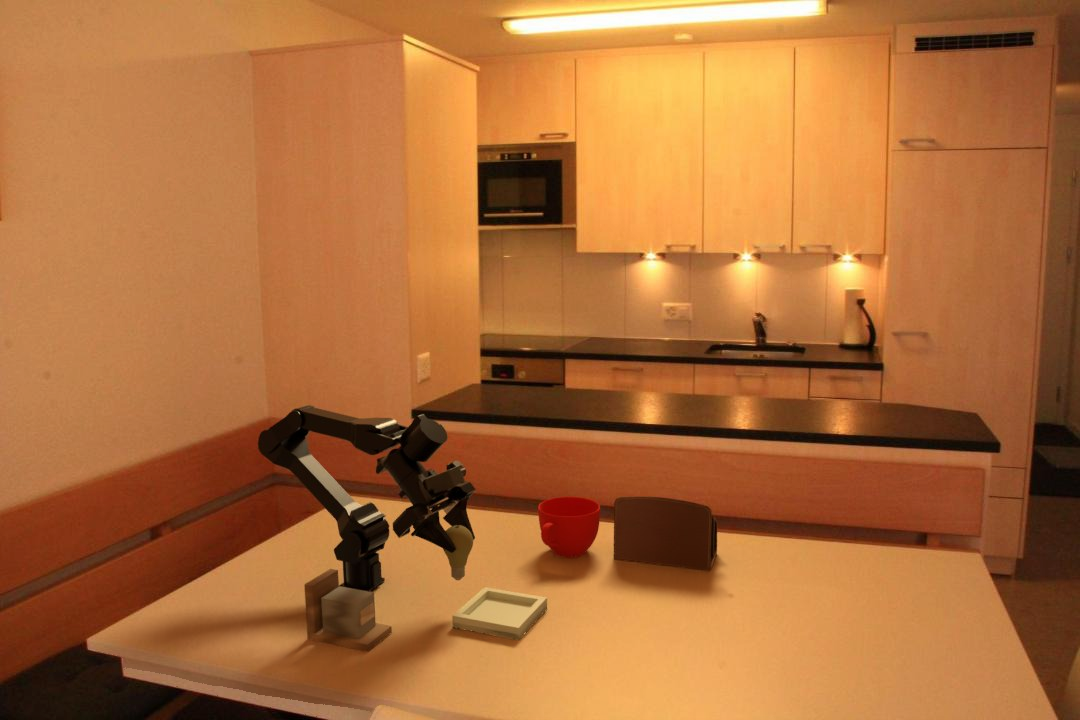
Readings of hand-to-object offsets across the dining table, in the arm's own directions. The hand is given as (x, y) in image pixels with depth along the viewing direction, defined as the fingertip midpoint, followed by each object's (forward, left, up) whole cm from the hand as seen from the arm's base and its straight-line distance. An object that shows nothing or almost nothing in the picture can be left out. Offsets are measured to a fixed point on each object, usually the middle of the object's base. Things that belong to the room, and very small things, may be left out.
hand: (463, 545), depth 149 cm
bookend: (-14, -16, -12) cm, 24 cm away
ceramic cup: (+7, +30, -12) cm, 33 cm away
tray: (+7, -1, -12) cm, 14 cm away
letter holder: (+27, +37, -12) cm, 47 cm away
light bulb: (-1, 0, -7) cm, 7 cm away
